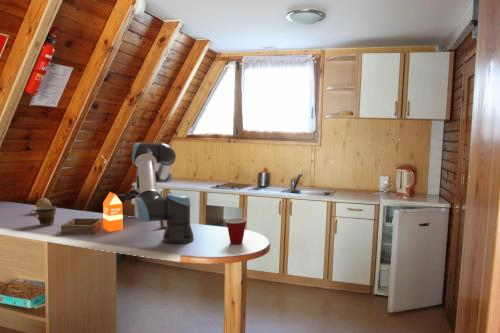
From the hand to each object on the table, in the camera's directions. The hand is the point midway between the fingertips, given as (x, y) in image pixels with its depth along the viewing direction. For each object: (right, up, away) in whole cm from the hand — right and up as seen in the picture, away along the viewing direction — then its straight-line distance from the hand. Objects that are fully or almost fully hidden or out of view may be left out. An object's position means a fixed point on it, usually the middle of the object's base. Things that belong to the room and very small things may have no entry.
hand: (120, 201), depth 235 cm
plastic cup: (+67, -18, -33) cm, 77 cm away
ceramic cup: (-42, -13, -4) cm, 45 cm away
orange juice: (-1, -15, -10) cm, 18 cm away
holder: (-16, -14, -13) cm, 25 cm away
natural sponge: (-58, -10, +27) cm, 65 cm away
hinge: (+29, -14, 0) cm, 33 cm away
